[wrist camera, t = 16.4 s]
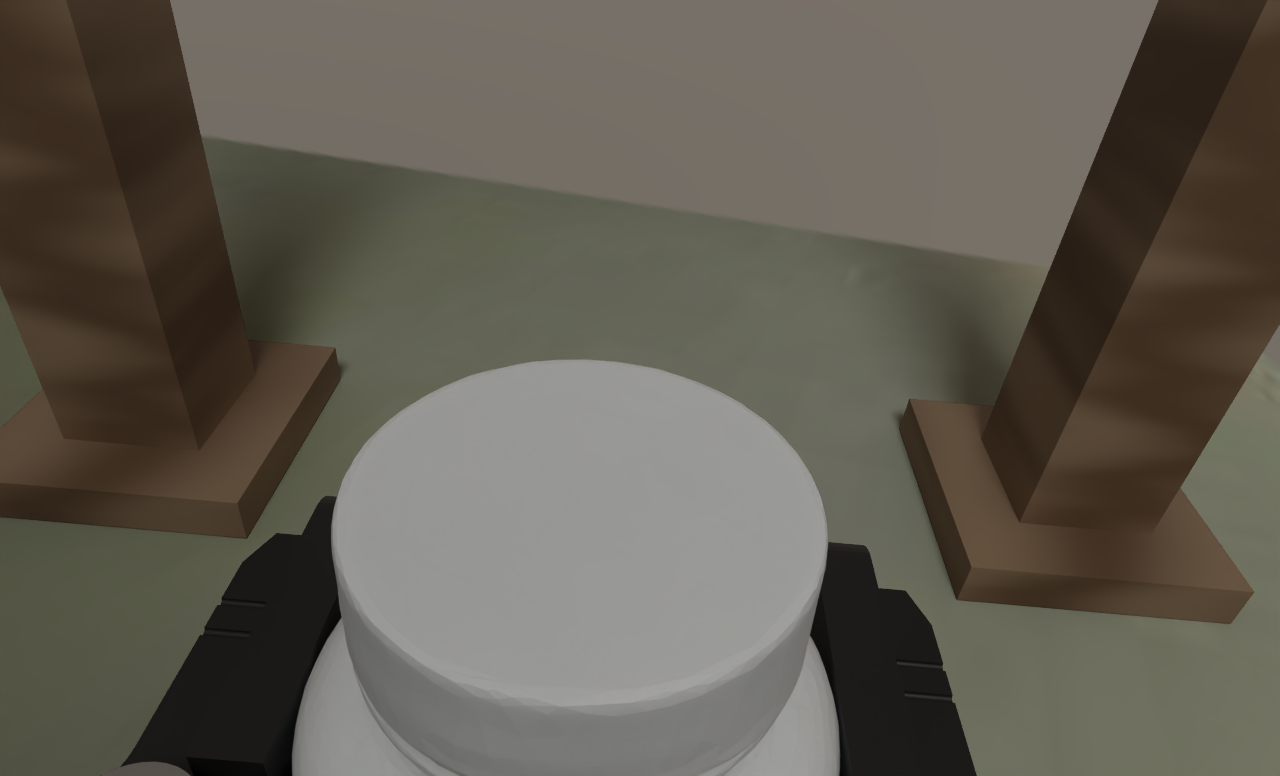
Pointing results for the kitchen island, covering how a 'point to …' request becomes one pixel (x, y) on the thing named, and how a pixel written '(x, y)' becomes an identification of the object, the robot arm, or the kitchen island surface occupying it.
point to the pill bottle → (573, 587)
